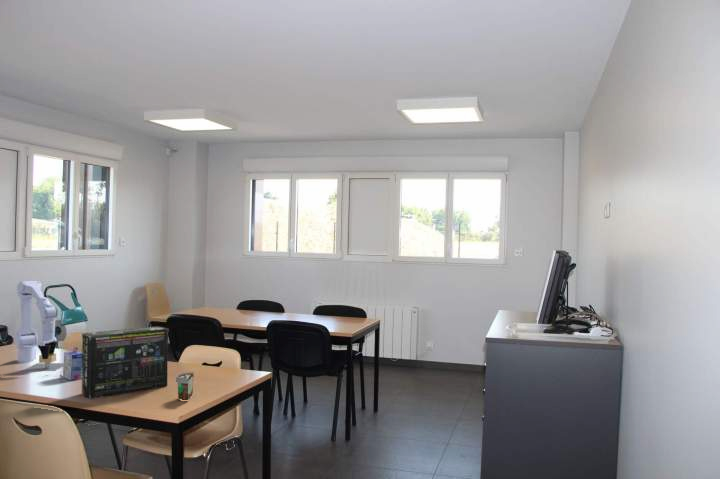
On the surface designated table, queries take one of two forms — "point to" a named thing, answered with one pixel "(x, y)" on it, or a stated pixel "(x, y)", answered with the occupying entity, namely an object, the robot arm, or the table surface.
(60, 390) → the table surface
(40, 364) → the board
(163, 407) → the table surface
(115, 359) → the router box
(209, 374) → the table surface
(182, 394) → the food container
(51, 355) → the wooden collar
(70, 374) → the ink cartridge box
